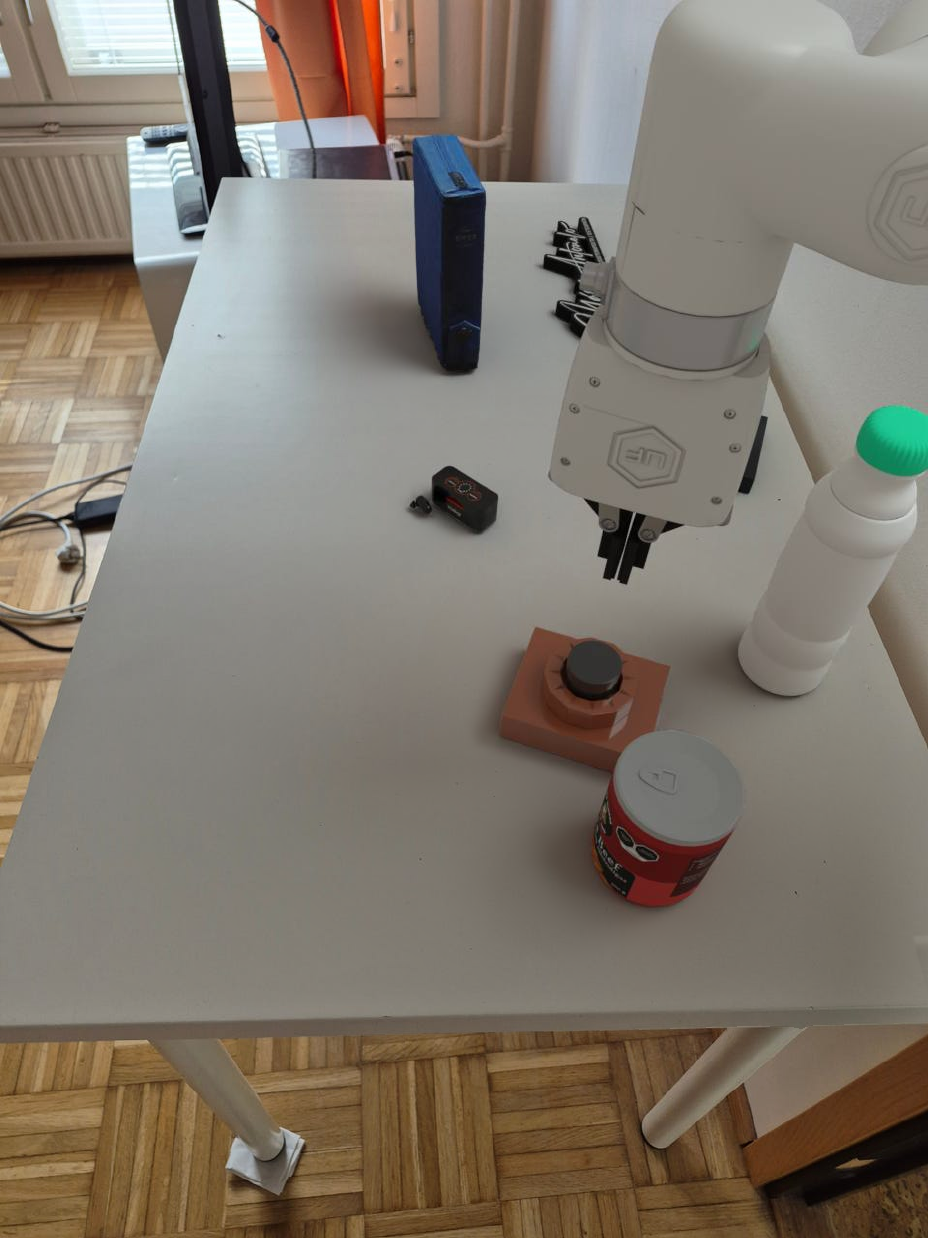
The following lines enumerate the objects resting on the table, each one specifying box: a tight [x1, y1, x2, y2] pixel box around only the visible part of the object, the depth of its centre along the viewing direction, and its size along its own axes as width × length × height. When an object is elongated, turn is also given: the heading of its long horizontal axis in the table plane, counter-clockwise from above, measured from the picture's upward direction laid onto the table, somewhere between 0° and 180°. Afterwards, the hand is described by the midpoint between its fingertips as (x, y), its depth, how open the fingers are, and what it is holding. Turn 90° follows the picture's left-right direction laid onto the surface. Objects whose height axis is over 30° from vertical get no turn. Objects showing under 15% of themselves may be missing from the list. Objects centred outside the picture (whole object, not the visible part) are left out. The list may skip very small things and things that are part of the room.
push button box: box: [498, 626, 671, 773], centre depth 68 cm, size 11×9×5 cm
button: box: [564, 641, 622, 700], centre depth 65 cm, size 4×4×2 cm
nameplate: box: [542, 216, 607, 339], centre depth 108 cm, size 27×2×10 cm
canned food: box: [590, 729, 746, 908], centre depth 58 cm, size 8×8×11 cm
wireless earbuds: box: [409, 465, 499, 533], centre depth 81 cm, size 5×7×3 cm, turn 49°
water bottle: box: [737, 405, 928, 697], centre depth 63 cm, size 7×7×25 cm
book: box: [411, 133, 487, 372], centre depth 92 cm, size 14×5×20 cm, turn 14°
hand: (619, 565), depth 56 cm, fingers closed
